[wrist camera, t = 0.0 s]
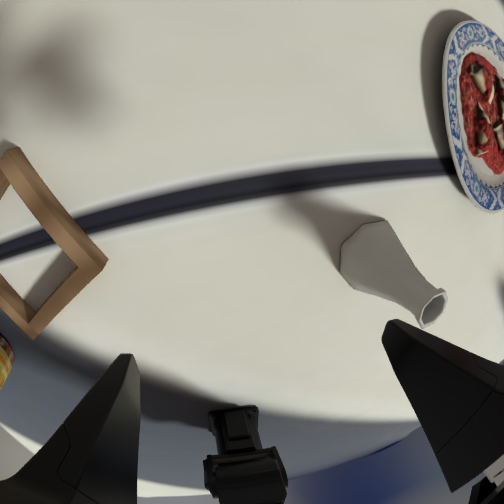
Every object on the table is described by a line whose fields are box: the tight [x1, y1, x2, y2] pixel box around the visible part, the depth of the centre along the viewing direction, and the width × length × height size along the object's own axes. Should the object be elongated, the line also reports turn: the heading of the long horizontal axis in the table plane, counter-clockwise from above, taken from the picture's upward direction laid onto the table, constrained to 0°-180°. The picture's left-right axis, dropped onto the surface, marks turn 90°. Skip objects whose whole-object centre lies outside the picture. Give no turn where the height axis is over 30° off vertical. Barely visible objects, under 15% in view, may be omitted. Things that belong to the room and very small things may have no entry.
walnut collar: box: [0, 147, 108, 340], centre depth 18 cm, size 13×13×2 cm
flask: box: [340, 221, 448, 329], centre depth 22 cm, size 7×7×10 cm
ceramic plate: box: [442, 20, 504, 214], centre depth 21 cm, size 26×26×3 cm
